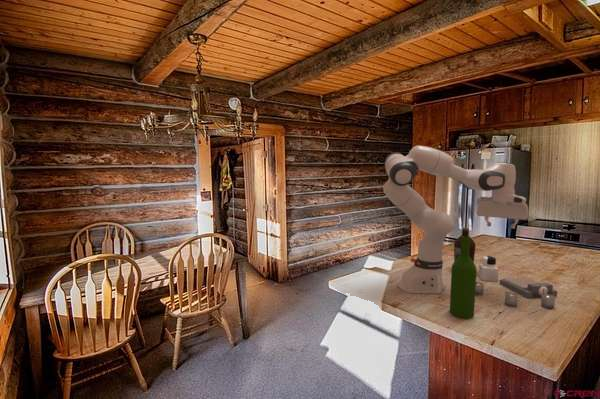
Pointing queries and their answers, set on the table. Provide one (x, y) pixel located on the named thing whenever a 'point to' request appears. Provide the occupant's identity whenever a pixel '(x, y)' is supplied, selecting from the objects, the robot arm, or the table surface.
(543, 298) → the cylinder
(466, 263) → the wine bottle
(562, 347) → the table surface
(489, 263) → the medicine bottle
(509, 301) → the cylinder
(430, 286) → the robot arm
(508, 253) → the table surface
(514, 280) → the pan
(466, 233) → the olive oil
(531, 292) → the scale
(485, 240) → the table surface
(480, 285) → the cylinder
